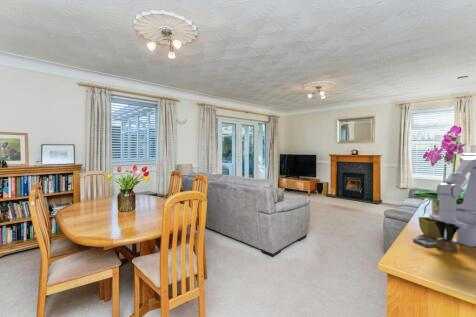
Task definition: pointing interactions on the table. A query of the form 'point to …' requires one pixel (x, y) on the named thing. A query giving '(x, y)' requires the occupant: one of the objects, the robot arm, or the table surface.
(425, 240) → the tray
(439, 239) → the walnut block
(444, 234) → the cylinder
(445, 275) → the table surface
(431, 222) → the flower pot
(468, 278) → the table surface
